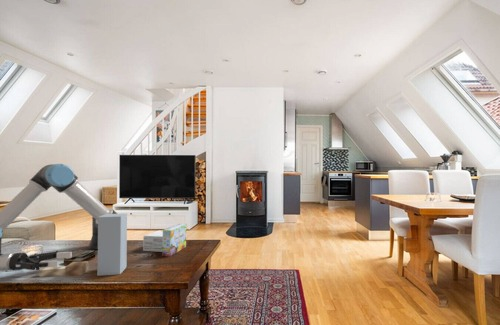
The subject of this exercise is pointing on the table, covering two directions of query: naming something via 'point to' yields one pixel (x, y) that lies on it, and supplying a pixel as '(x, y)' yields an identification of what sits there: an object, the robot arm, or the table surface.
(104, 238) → the slate column
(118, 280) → the table surface
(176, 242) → the snack box
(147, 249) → the supplement box
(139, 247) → the table surface
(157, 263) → the table surface
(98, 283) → the table surface
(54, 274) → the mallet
